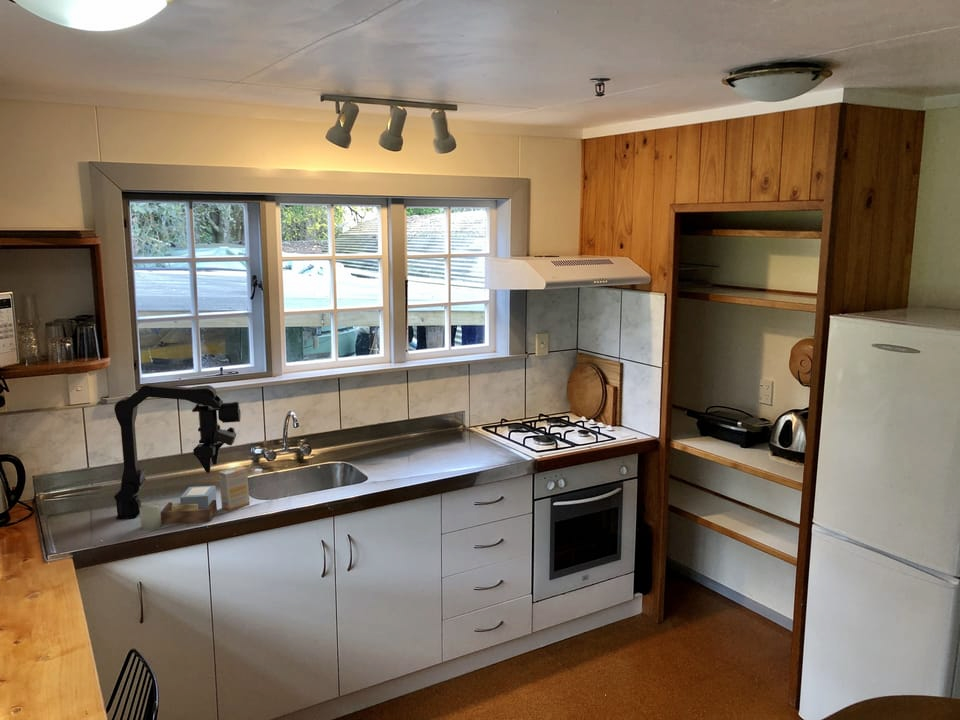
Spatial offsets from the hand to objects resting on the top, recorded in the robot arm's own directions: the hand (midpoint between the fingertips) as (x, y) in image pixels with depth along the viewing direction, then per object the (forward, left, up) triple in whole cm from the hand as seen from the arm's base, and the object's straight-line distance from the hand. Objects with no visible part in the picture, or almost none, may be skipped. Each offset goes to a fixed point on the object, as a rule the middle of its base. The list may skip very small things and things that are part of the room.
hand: (211, 468), depth 256 cm
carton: (-6, +5, -14) cm, 16 cm away
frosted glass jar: (-16, -14, -14) cm, 26 cm away
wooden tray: (-6, -8, -14) cm, 17 cm away
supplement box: (+7, +1, -14) cm, 16 cm away
